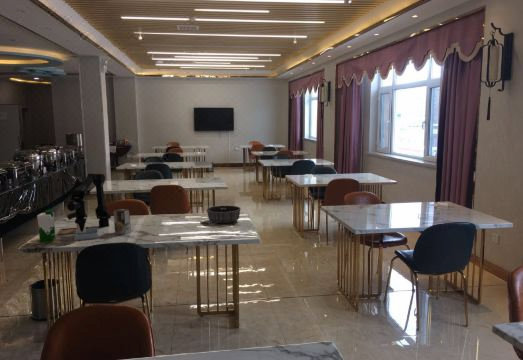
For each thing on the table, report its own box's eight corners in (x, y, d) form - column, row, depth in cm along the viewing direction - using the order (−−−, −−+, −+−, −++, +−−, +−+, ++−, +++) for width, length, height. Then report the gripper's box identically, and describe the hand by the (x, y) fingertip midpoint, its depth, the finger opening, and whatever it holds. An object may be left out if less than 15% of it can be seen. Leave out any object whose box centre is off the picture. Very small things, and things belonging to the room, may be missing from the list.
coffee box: (131, 231, 306) (130, 209, 304) (125, 234, 300) (124, 211, 298) (120, 230, 309) (119, 208, 307) (114, 233, 303) (113, 210, 301)
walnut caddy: (88, 228, 317) (88, 226, 317) (87, 233, 303) (87, 231, 303) (60, 230, 311) (60, 228, 311) (57, 235, 297) (57, 234, 297)
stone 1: (84, 229, 311) (83, 222, 310) (83, 231, 307) (83, 223, 306) (77, 230, 310) (76, 222, 309) (76, 231, 306) (76, 224, 305)
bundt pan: (204, 218, 345) (204, 205, 344) (237, 216, 351) (237, 204, 350) (208, 226, 320) (208, 213, 319) (243, 224, 326) (243, 211, 325)
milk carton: (52, 242, 282) (49, 212, 279) (37, 242, 281) (35, 212, 278) (57, 238, 291) (55, 209, 288) (43, 239, 290) (40, 209, 287)
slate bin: (99, 233, 304) (98, 228, 303) (97, 238, 290) (97, 233, 290) (77, 234, 300) (76, 229, 299) (74, 240, 286) (74, 235, 286)
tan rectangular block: (85, 230, 296) (85, 223, 296) (85, 232, 292) (84, 224, 291) (78, 231, 295) (78, 223, 294) (78, 233, 291) (77, 225, 290)
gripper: (69, 205, 298) (70, 228, 300) (65, 211, 280) (67, 235, 282) (86, 204, 301) (88, 226, 303) (84, 210, 283) (85, 233, 286)
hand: (82, 230), depth 293 cm, fingers closed on tan rectangular block, 4 cm apart
